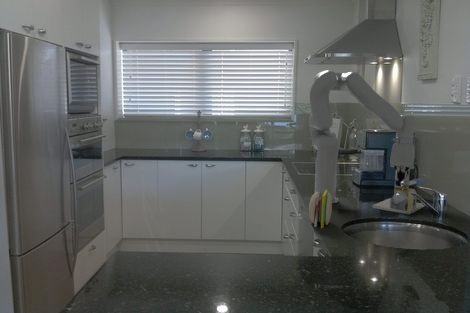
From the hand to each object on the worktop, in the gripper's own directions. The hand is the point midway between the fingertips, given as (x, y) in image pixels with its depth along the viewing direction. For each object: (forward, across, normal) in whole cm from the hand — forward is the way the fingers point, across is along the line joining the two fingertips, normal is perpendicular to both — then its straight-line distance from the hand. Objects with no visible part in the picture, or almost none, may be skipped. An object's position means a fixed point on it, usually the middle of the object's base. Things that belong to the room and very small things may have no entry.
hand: (400, 180), depth 202 cm
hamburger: (+11, -14, -58) cm, 61 cm away
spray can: (+10, -4, +18) cm, 21 cm away
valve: (+10, +3, -11) cm, 16 cm away
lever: (0, +6, -6) cm, 9 cm away
